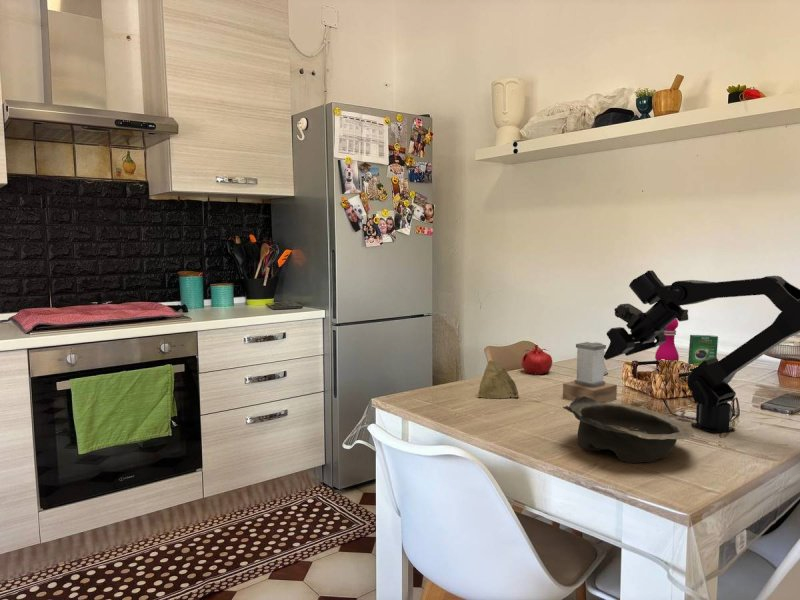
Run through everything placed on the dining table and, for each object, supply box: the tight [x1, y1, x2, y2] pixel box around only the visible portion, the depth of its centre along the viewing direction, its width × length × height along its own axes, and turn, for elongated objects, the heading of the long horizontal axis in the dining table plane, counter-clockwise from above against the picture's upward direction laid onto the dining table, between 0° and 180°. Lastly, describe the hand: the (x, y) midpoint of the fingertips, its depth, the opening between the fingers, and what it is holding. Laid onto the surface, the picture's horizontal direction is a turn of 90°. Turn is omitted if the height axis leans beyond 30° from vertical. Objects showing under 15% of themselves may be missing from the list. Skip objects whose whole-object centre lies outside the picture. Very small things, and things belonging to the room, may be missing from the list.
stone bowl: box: [562, 396, 695, 464], centre depth 122 cm, size 25×25×9 cm
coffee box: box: [687, 334, 719, 366], centre depth 190 cm, size 8×3×13 cm, turn 90°
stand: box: [562, 380, 618, 404], centre depth 162 cm, size 10×10×4 cm
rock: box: [477, 360, 520, 399], centre depth 164 cm, size 11×9×10 cm
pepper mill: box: [654, 318, 680, 361], centre depth 198 cm, size 7×7×20 cm
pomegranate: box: [521, 344, 553, 375], centre depth 195 cm, size 10×10×9 cm
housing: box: [574, 341, 607, 388], centre depth 161 cm, size 6×5×11 cm
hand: (615, 356), depth 155 cm, fingers open, 9 cm apart
